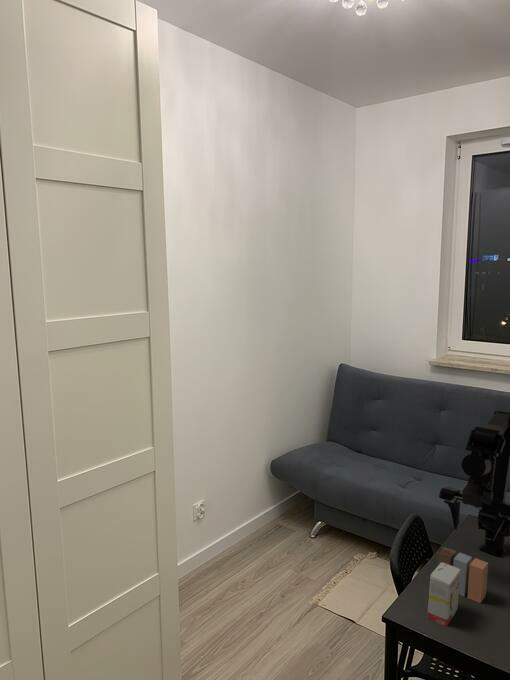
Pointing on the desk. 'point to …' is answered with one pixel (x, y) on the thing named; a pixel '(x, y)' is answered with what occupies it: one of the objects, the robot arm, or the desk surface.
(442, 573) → the ink box
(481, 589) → the terracotta block
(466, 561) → the slate block
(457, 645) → the desk surface
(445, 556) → the walnut block
